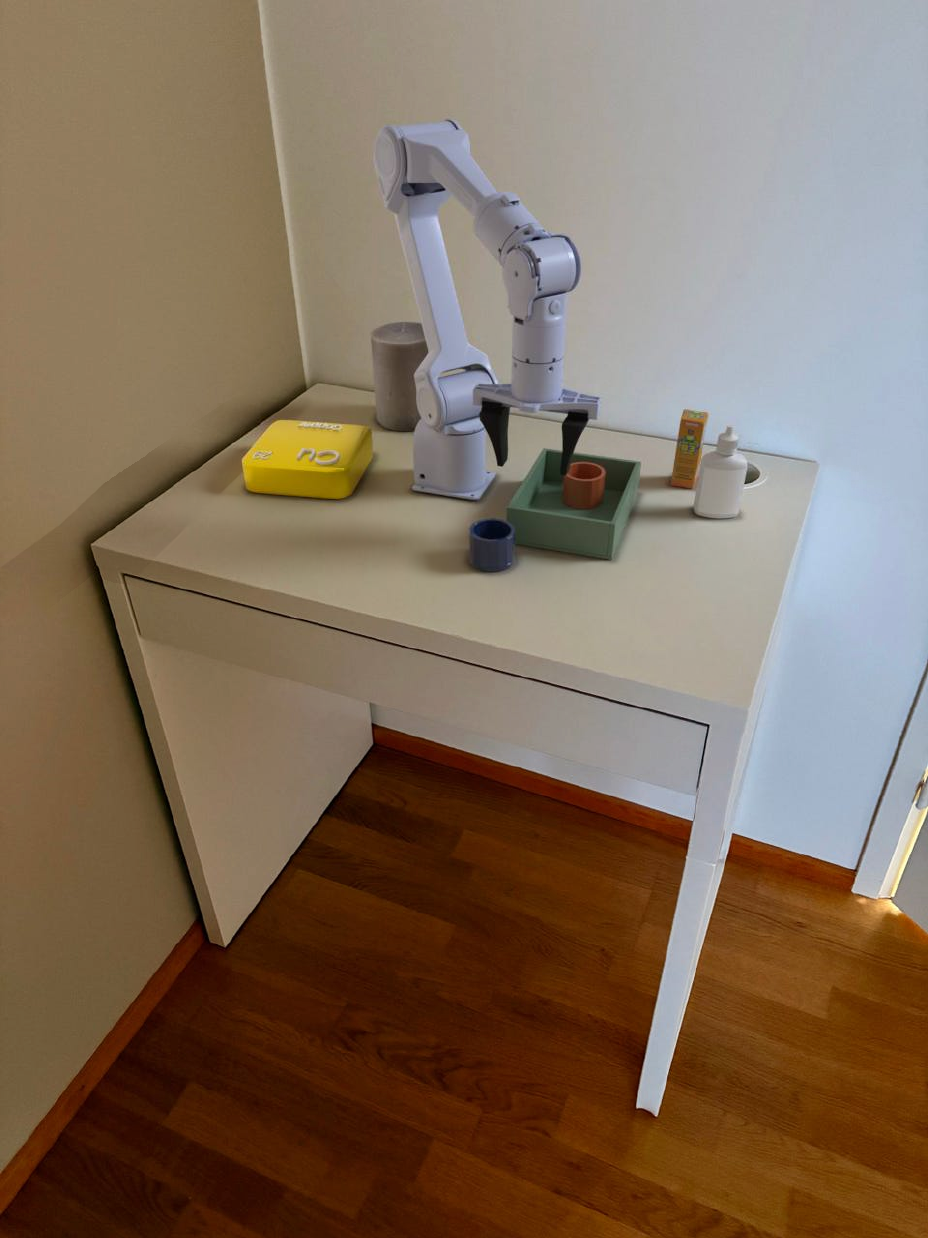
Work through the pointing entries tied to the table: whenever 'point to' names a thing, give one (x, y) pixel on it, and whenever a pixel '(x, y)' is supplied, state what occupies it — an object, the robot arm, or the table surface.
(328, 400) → the table surface
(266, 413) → the table surface
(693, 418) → the supplement box
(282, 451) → the element tile
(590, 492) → the terracotta cup
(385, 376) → the pillar candle
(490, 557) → the navy cup
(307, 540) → the table surface
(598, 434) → the table surface
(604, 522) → the sage tub
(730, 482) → the eye dropper bottle
